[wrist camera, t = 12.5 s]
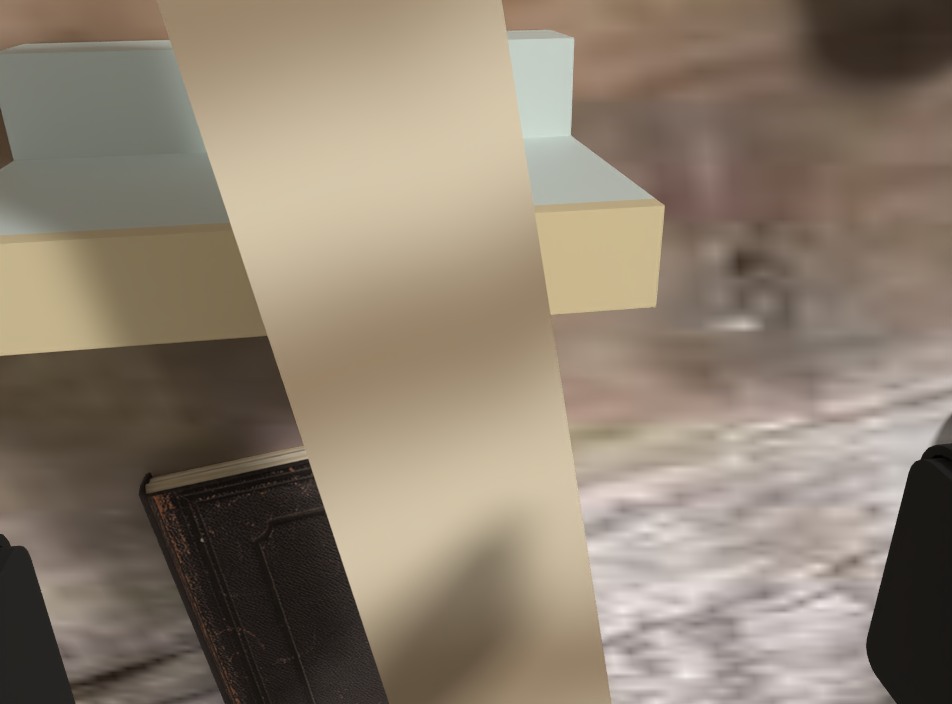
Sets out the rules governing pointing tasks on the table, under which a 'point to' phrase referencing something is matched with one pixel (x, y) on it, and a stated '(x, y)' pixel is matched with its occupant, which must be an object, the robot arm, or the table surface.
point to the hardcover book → (264, 581)
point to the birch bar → (408, 326)
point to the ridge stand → (204, 214)
